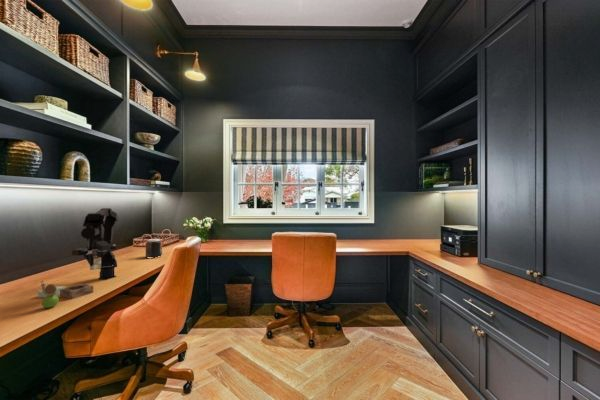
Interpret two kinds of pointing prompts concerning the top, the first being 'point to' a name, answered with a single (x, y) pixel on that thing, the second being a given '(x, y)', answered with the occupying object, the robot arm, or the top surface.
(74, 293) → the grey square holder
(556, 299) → the top surface
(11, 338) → the top surface
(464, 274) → the top surface
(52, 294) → the snail figurine
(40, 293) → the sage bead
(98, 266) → the peg
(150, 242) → the jar
